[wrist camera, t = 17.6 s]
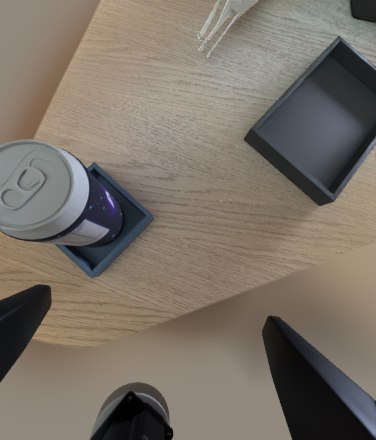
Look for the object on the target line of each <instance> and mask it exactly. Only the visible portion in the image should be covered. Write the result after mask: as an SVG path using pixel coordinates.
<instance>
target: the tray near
mask: <svg viewBox="0 0 376 440" xmlns="http://www.w3.org/2000/svg"><path fill="white" fill-rule="evenodd" d="M87 169H88V170H89V171H90V173H91V174H92V175H93V176H94V177H95V178H96V179H97V180H98V181H99V183H100V184H101V185H102V186H103V187H104V188H105V189H106V190H107V192H108V193H109V194H110V195H111V196H112V197H113V198H114V199H115V201H116V202H117V203H118V204H119V205H120V207H121V208H122V211H123V214H124V226H123V229H122V231H121V233H120V234H119V236H118V237H117V238H116V239H115V240H114V241H113V242H111V243H110V244H108V245H105V246H102V247H97V248H92V247H82V246H72V245H62V244H55V245H56V246H57V247H59V248H60V249H61V250H62V251H63V252H64V253H65V254H66V255H67V256H68V257H69V258H70V259H71V260H72V261H74V262H75V263H76V264H77V265H78V266H79V267H80V268H81V269H82V270H83V271H84V272H85V273H86V274H88V275H89V276H90V277H91V278H93V277H96V276H99V275H100V274H101V273H102V272H103V271H104V270H105V269H106V268H107V267H108V266H109V265H110V264H111V263H112V262H113V261H114V260H115V259H116V258H117V257H118V256H119V255H120V254H121V253H122V252H123V251H124V250H125V249H126V247H127V246H128V245H129V244H130V243H131V242H132V241H133V240H134V239H135V238H136V237H137V236H138V235H139V234H140V233H141V232H142V231H143V230H144V229H145V228H146V227H147V226H148V225H149V224H150V223H151V222H152V221H153V219H154V218H153V215H152V214H151V213H150V212H149V211H148V210H146V209H145V208H144V207H143V206H142V205H141V204H140V203H139V202H138V201H137V200H135V199H134V198H133V197H132V196H131V195H130V194H129V193H128V192H127V191H126V190H124V189H123V188H122V187H121V186H120V185H119V184H118V183H117V182H116V181H115V180H113V179H112V178H111V177H110V176H109V175H108V174H107V173H106V172H105V171H104V170H102V169H101V168H100V167H99V166H98V165H97V164H96V163H95V162H94V163H93V164H91V165H90V166H89V167H88V168H87Z"/></svg>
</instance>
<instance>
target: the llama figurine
mask: <svg viewBox="0 0 376 440" xmlns="http://www.w3.org/2000/svg"><path fill="white" fill-rule="evenodd" d="M258 1H259V0H227V2H226V4H225V7H224V9H223V11H222V13H221V17H220V19H219V21H218V23H217V24H216V26H215V27H214V29H213V30H212V31H211V33H210V34H209V35H208V37H207V38H206V40H205V41H204V42H203V44H202V45H201V46H200V48H199V49H198V51H199V52H203V48H204V46H206V44H207V43H208V41H209V40H210V39H211V38H212V36H213V35H214V34H215V32H216V31H217V30H218V29H219V27H220V26H221V25H222V24H223V23H224V22H225V20H226V19H227V18H228V17H229V16H230V17H232V16H233V15H234V14H235V12H237V15H236V16H235V17H234V19H233V20H232V21H231V23H230V24H229V26H228V27H227V29H226V30H225V31H224V33H223V34H222V35H221V37H220V38H219V40H218V41H217V42H216V44H215V45H214V46H213V48H212V49H211V50H210V52H209V53H208V55H207V56H206V58H209V57H210V53H211V52H212V51H213V49H214V48H215V46H216V45H217V44H218V42H219V41H220V40H221V38H222V37H223V35H224V34H225V33H226V31H227V30H228V29H229V28H230V26H231V25H232V24H233V22H234V21H235V20H237V19H238V18H239V17H240V16H241V15H242V14H243V13H244V12H245V11H247V10H248V9H249V8H250V7H252V6H253V5H254V4H255V3H256V2H258ZM220 2H221V0H217V3H216V5H215V7H214V8H213V10H212V12H211V14H210V15H209V17H208V19H207V21H206V22H205V24H204V26H203V28H202V30H201V31H200V32H199V31H198V30H197V31H198V32H199V34H198V35H196V36H197V37H198V39H199V40H200V42H201V40H202V39H203V37H202V36H203V35H204V33H205V31H206V29H207V28H208V26H209V24H210V22H211V21H212V19H213V17H214V15H215V13H216V9H217V7H218V5H219V3H220ZM229 4H230V6H229ZM228 6H229V7H228ZM203 40H204V39H203Z"/></svg>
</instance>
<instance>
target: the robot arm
mask: <svg viewBox="0 0 376 440" xmlns="http://www.w3.org/2000/svg"><path fill="white" fill-rule="evenodd" d="M51 303H52V300H51V287H50V286H48V285H41V284H39V285H35V286H33V287H31V288H29V289H26V290H24V291H22V292H19V293H17V294H15V295H12V296H10V297H8V298H5V299H3V300H1V301H0V382H1V381H2V379H3V378H4V377H5V375H6V374H7V373H8V371H9V370H10V369H11V367H12V366H13V365H14V363H15V362H16V360H17V359H18V358H19V356H20V355H21V354H22V352H23V351H24V349H25V348H26V346H27V345H28V343H29V342H30V340H31V338H32V337H33V335H34V333H35V332H36V330H37V329H38V327H39V325H40V324H41V322H42V320H43V319H44V317H45V315H46V314H47V312H48V310H49V309H50V307H51ZM262 336H263V341H264V345H265V349H266V354H267V358H268V362H269V367H270V371H271V375H272V378H273V382H274V385H275V388H276V391H277V394H278V397H279V400H280V403H281V406H282V410H283V413H284V416H285V419H286V422H287V425H288V428H289V431H290V434H291V437H292V440H376V401H375V400H373V398H372V397H371V396H370V395H369V394H367V393H366V392H365V391H364V390H363V389H362V388H361V387H359V386H358V385H357V384H356V383H355V382H354V381H352V380H351V379H350V378H349V377H348V376H347V375H345V374H344V373H343V372H342V371H341V370H340V369H339V368H337V367H336V366H335V365H334V364H333V363H332V362H330V361H329V360H328V359H327V358H326V357H325V356H324V355H322V354H321V353H320V352H319V351H318V350H317V349H315V348H314V347H313V346H312V345H311V344H309V343H308V342H307V341H306V340H305V339H304V338H303V337H302V336H300V335H299V334H298V333H297V332H296V331H295V330H293V329H292V328H291V327H290V326H289V325H288V324H287V323H285V322H284V321H283V320H282V319H281V318H279V317H277V316H268V317H267V320H266V322H265V325H264V327H263V330H262ZM129 396H131V397H132V398H131V399H129V398H128V397H129ZM167 433H170V435H167ZM172 438H173V429H172V428H171V427H170V426H169V425H168V424H167V423H166V422H165V421H164V418H163V417H162V416H161V415H160V414H159V413H158V412H157V411H156V410H155V409H154V408H153V407H152V406H150V405H149V404H148V403H146V402H144V401H143V400H142V399H141V398H139V397H138V396H137V395H136V394H135V393H134V392H133V391H129V392H127V393H126V395H125V396H124V397H123V398H122V400H121V401H120V402H119V403H118V405H117V406H116V407H115V408H114V410H113V411H112V412H111V413H110V415H109V416H108V417H107V418H106V420H105V421H104V422H103V423H102V425H101V426H100V427H99V428H98V430H97V431H96V432H95V433H94V435H93V436H92V437H91V438H90V440H172Z"/></svg>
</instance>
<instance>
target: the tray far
mask: <svg viewBox="0 0 376 440" xmlns="http://www.w3.org/2000/svg"><path fill="white" fill-rule="evenodd" d="M244 140H245V141H246V142H247V143H248V144H250V145H251V146H252V147H253V148H254V149H255V150H256V151H258V152H259V153H260V154H261V155H262V156H263V157H264V158H266V159H267V160H268V161H269V162H270V163H271V164H272V165H273V166H275V167H276V168H277V169H278V170H279V171H280V172H281V173H283V174H284V175H285V176H286V177H287V178H288V179H289V180H291V181H292V182H293V183H294V184H295V185H296V186H297V187H299V188H300V189H301V190H302V191H303V192H304V193H305V194H306V195H308V196H309V197H310V198H311V199H312V200H313V201H314V202H316V203H317V204H318V205H319V206H321V205H324V204H328V203H331V202H334V201H335V200H336V198H337V197H338V196H339V194H340V193H341V192H342V190H343V189H344V187H345V186H346V185H347V183H348V182H349V180H350V179H351V178H352V176H353V175H354V174H355V172H356V171H357V169H358V168H359V167H360V165H361V164H362V162H363V161H364V160H365V158H366V157H367V155H368V154H369V153H370V151H371V150H372V149H373V147H374V146H375V144H376V66H374V65H373V64H372V63H371V62H370V61H368V60H367V59H366V58H365V57H364V56H363V55H361V54H360V53H359V52H358V51H357V50H355V49H354V48H353V47H352V46H351V45H350V44H348V43H347V42H346V41H345V40H344V39H342V38H341V37H340V36H338V37H337V38H336V39H335V41H334V42H333V43H332V44H331V45H330V46H329V47H328V48H327V49H326V50H325V51H324V52H323V53H322V54H321V55H320V56H319V57H318V58H317V59H316V61H315V62H314V63H313V64H312V65H311V66H310V67H309V68H308V69H307V70H306V71H305V72H304V73H303V74H302V75H301V76H300V77H299V78H298V80H297V81H296V82H295V83H294V84H293V85H292V86H291V87H290V88H289V89H288V90H287V91H286V92H285V93H284V94H283V95H282V96H281V97H280V98H279V100H278V101H277V102H276V103H275V104H274V105H273V106H272V107H271V108H270V109H269V110H268V111H267V112H266V113H265V114H264V115H263V116H262V117H261V119H260V120H259V121H258V122H257V123H256V124H255V125H254V126H253V127H252V128H251V129H250V131H249V132H248V134H247V135H246V137H245V138H244Z"/></svg>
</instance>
